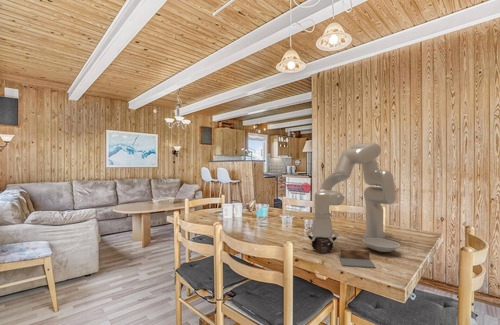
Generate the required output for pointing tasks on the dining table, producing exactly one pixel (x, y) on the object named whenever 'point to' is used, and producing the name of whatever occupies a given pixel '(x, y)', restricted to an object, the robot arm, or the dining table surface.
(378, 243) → the dish
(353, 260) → the rubber mat
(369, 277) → the dining table surface
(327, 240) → the box
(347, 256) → the walnut rail
